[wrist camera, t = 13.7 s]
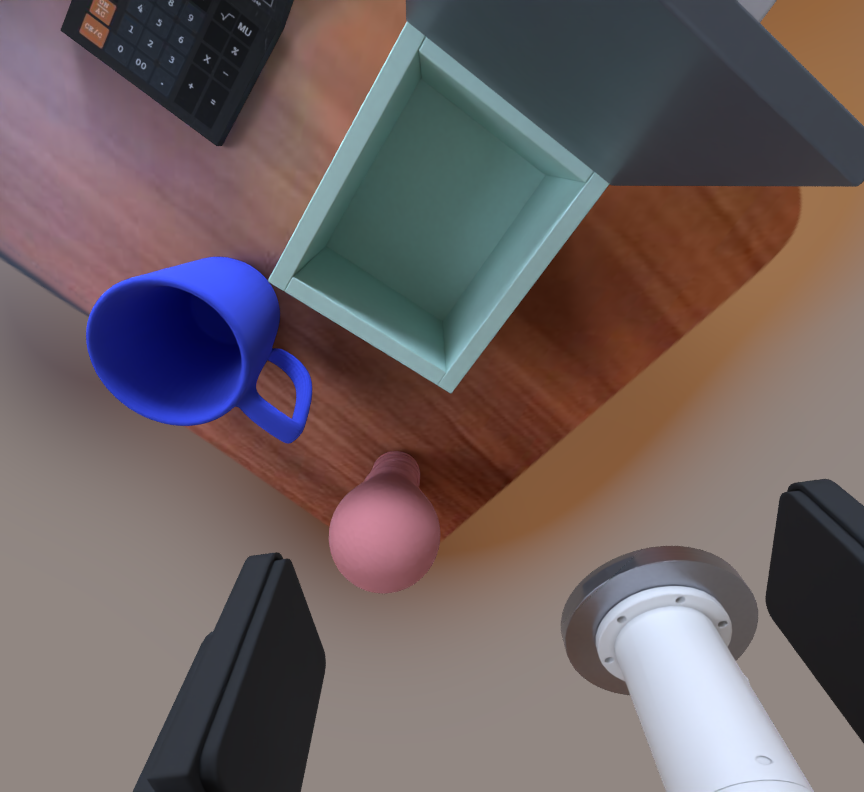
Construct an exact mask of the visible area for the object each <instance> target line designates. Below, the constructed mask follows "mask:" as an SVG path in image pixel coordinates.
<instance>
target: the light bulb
mask: <svg viewBox="0 0 864 792" xmlns="http://www.w3.org/2000/svg"><path fill="white" fill-rule="evenodd" d="M419 485H420V469H419V466H418V464H417V462H416V461H415V459H414V458H413V457H412V456H410V455H409V454H407V453H404V452H400V451H391V452H387V453H384V454H383V455H381V456H380V457H379V458H378V459H377V460H376V461H375V463H374V466H373V468H372V470H371V473H369V475H368V476H367V477H366V479H365V480H364V482H363V483H361V484H360V485H358V486H357V487H356V488H354V489H353V490H352V491H350V492H349V493H348V494H347V495H346V496H345V497H344V498H343V499H342V501H341V502H340V503H339V505H338V507H337V508H336V510H335V512H334V514H333V517H332V520H331V524H330V530H329V544H330V550H331V554H332V557H333V560H334V562H335V564H336V566H337V568H338V569H339V571H340V572H341V573H342V574H343V575H344V576H345V578H346V579H348V580H349V581H350V582H351V583H353V584H354V585H355V586H357V587H359V588H361V589H364V590H366V591H369V592H374V593H392V592H397V591H401V590H403V589H406V588H408V587H410V586H411V585H413V584H415V583H416V582H417V581H419V580H420V579H421V578H422V577H423V576H424V575H425V574H426V573H427V571H428V570H429V569H430V567H431V566H432V564H433V562H434V560H435V558H436V555H437V552H438V549H439V544H440V526H439V520H438V517H437V514H436V512H435V509H434V507H433V505H432V504H431V502H430V501H429V500H428V498H427V497H426V496H425V495H424V494H423V492H422V491H421V490H420V489H419Z"/></svg>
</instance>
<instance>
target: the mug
mask: <svg viewBox="0 0 864 792" xmlns="http://www.w3.org/2000/svg"><path fill="white" fill-rule="evenodd" d="M279 322H280V308H279V303H278V299H277V296H276V294H275V292H274V290H273V288H272V286H271V285H270V283H269V282H268V281H267V279H266V278H265V277H264V276H263V275H262V274H261V273H260V272H259V271H257V270H256V269H255V268H253V267H252V266H250V265H248V264H246V263H244V262H242V261H239V260H236V259H232V258H227V257H210V258H204V259H200V260H197V261H193V262H189V263H185V264H182V265H178V266H174V267H170V268H167V269H163V270H159V271H155V272H152V273H148V274H144V275H140V276H137V277H133V278H129V279H126V280H124V281H122V282H119V283H117V284H115V285H114V286H112V287H111V288H110V289H108V290H107V291H106V292H105V293H104V294H103V295H102V296H101V297H100V298H99V299H98V301H97V302H96V304H95V305H94V307H93V309H92V311H91V313H90V316H89V319H88V323H87V332H86V340H87V348H88V353H89V356H90V360H91V362H92V365H93V367H94V369H95V371H96V373H97V375H98V377H99V378H100V380H101V381H102V382H103V384H104V385H105V386H106V388H107V389H108V390H109V391H110V392H111V393H112V394H113V395H114V396H115V397H116V398H117V399H118V400H119V401H120V402H121V403H123V404H125V405H126V406H127V407H128V408H130V409H131V410H133V411H135V412H137V413H138V414H140V415H142V416H144V417H146V418H149V419H151V420H154V421H157V422H161V423H165V424H170V425H178V426H192V425H199V424H204V423H207V422H210V421H213V420H216V419H218V418H220V417H221V416H223V415H225V414H226V413H228V412H229V411H230V410H231V409H232V408H234V407H239V408H240V409H241V410H242V411H243V412H244V413H245V414H246V415H247V416H248V417H249V418H250V419H251V420H252V421H253V422H255V423H256V424H257V425H259V426H260V427H261V428H263V429H264V430H265V431H267V432H268V433H270V434H271V435H273V436H274V437H276V438H277V439H279V440H281V441H283V442H285V443H292V442H293V441H295V440H296V439H297V438H298V437H299V436H300V434H301V433H302V432H303V429H304V427H305V424H306V420H307V417H308V413H309V409H310V404H311V399H312V382H311V378H310V375H309V373H308V371H307V369H306V368H305V367H304V365H303V364H302V363H301V362H300V361H299V360H298V359H296V358H295V357H294V356H293V355H291V354H290V353H288V352H287V351H285V350H282V349H278V348H272V347H273V343H274V340H275V337H276V334H277V331H278V327H279ZM267 360H268V361H270V362H272V363H274V364H275V365H277V366H278V367H280V368H281V369H282V370H283V371H284V372H285V373H286V374H287V375H288V376H289V377H290V378H291V380H292V381H293V383H294V385H295V388H296V405H295V410H294V413H293V417H292V419H291V418H289V417H288V416H286V415H285V414H283V413H282V412H280V411H279V410H277V409H276V408H275V407H273V406H272V405H271V404H269V403H268V402H267V401H265V400H264V399H263V398H262V397H261V396H260V395H259V394H258V392H257V390H256V383H257V379H258V376H259V374H260V372H261V370H262V368H263V367H264V365H265V363H266V362H267Z"/></svg>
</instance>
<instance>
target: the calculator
mask: <svg viewBox="0 0 864 792" xmlns="http://www.w3.org/2000/svg"><path fill="white" fill-rule="evenodd" d="M293 1H294V0H72V2H71V4H70V7H69V9H68V12H67V15H66V17H65V20H64V23H63V25H62V28H61V31H62V32H63V33H65V34H66V35H67V36H69V37H70V38H71V39H73V40H74V41H75V42H77V43H78V44H79V45H81V46H82V47H84V48H85V49H86V50H88V51H89V52H90V53H92V54H93V55H94V56H96V57H97V58H98V59H100V60H101V61H102V62H104V63H105V64H106V65H108V66H109V67H111V68H112V69H113V70H115V71H116V72H117V73H119V74H120V75H121V76H123V77H124V78H125V79H127V80H128V81H129V82H131V83H132V84H134V85H135V86H136V87H138V88H139V89H140V90H142V91H143V92H144V93H146V94H147V95H148V96H150V97H151V98H152V99H154V100H155V101H156V102H158V103H159V104H161V105H162V106H163V107H165V108H166V109H167V110H169V111H170V112H171V113H173V114H174V115H175V116H177V117H178V118H179V119H181V120H182V121H184V122H185V123H186V124H188V125H189V126H190V127H192V128H193V129H194V130H196V131H197V132H198V133H200V134H201V135H202V136H204V137H205V138H206V139H208V140H209V141H211V142H212V143H213V144H215V145H216V146H222V145H223V143H224V141H225V139H226V137H227V135H228V133H229V131H230V130H231V128H232V126H233V124H234V122H235V120H236V118H237V116H238V114H239V113H240V111H241V109H242V107H243V105H244V103H245V101H246V99H247V97H248V96H249V94H250V92H251V90H252V88H253V86H254V84H255V82H256V80H257V78H258V77H259V75H260V73H261V71H262V69H263V67H264V65H265V63H266V61H267V60H268V58H269V56H270V54H271V52H272V50H273V48H274V46H275V44H276V43H277V41H278V39H279V37H280V35H281V33H282V31H283V29H284V27H285V24H286V21H287V18H288V15H289V12H290V10H291V7H292V4H293Z"/></svg>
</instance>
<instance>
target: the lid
mask: <svg viewBox="0 0 864 792" xmlns="http://www.w3.org/2000/svg"><path fill="white" fill-rule="evenodd" d="M775 2H776V0H406V20H407V22H408V23H410V24H411V25H412V26H413V27H415V28H416V29H417V30H418V31H420V32H421V33H422V34H423V35H425V36H426V37H427V38H428V39H430V40H431V41H432V42H433V43H435V44H436V45H437V46H438V47H440V48H441V49H442V50H443V51H445V52H446V53H447V54H448V55H450V56H451V57H452V58H453V59H455V60H456V61H457V62H458V63H459V64H461V65H462V66H463V67H464V68H466V69H467V70H468V71H469V72H471V73H472V74H473V75H474V76H476V77H477V78H478V79H479V80H481V81H482V82H483V83H484V84H486V85H487V86H488V87H489V88H491V89H492V90H493V91H494V92H496V93H497V94H498V95H499V96H501V97H502V98H503V99H504V100H506V101H507V102H508V103H509V104H511V105H512V106H513V107H514V108H516V109H517V110H518V111H519V112H521V113H522V114H523V115H524V116H526V117H527V118H528V119H529V120H531V121H532V122H533V123H534V124H536V125H537V126H538V127H539V128H540V129H542V130H543V131H544V132H545V133H547V134H548V135H549V136H550V137H552V138H553V139H554V140H555V141H557V142H558V143H559V144H560V145H562V146H563V147H564V148H565V149H567V150H568V151H569V152H570V153H572V154H573V155H574V156H575V157H577V158H578V159H579V160H580V161H582V162H583V163H584V164H585V165H587V166H588V167H589V168H590V169H592V170H593V171H594V172H595V173H597V174H598V175H599V176H600V177H602V178H603V179H604V180H605V181H607V182H608V183H609V184H610V185H612V186H859V185H860V184H861V183H862V182H863V181H864V126H863V125H862V124H861V123H860V122H859V121H858V120H857V119H856V118H855V117H854V116H853V115H852V114H851V113H850V112H849V111H848V110H847V109H845V107H844V106H843V105H842V104H841V103H839V101H838V100H836V98H835V97H833V95H832V94H831V93H830V92H829V91H827V89H826V88H825V87H824V86H822V84H821V83H819V81H817V79H816V78H814V77H813V76H812V74H810V73H809V71H807V70H806V69H805V68H804V67H803V66H802V65H801V64H800V63H799V62H798V61H797V60H796V59H795V58H794V57H793V56H792V55H791V54H790V53H789V52H788V51H787V50H786V49H785V48H784V47H783V46H782V45H781V44H780V43H779V42H778V41H777V40H776V39H775V38H774V37H773V36H772V35H771V34H770V33H769V32H768V31H767V30H766V29H765V28H764V27H763V26H762V25H761V24H760V22H761V21H762V19H763V18H764V17H765V15H766V14H767V13H768V11H769V10H770V9H771V7H772V6H773V5H774V3H775Z"/></svg>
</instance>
